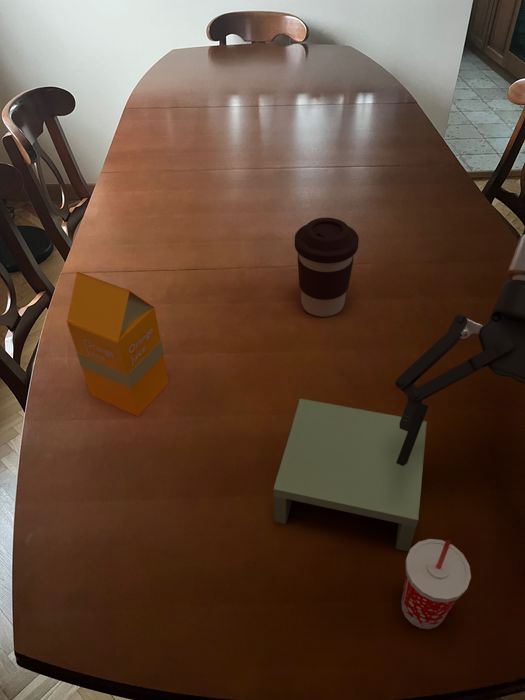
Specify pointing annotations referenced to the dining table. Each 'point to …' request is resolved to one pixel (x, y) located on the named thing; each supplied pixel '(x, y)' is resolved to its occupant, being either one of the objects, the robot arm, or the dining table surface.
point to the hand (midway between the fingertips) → (466, 491)
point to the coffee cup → (325, 264)
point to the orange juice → (117, 344)
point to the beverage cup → (433, 581)
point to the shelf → (351, 466)
